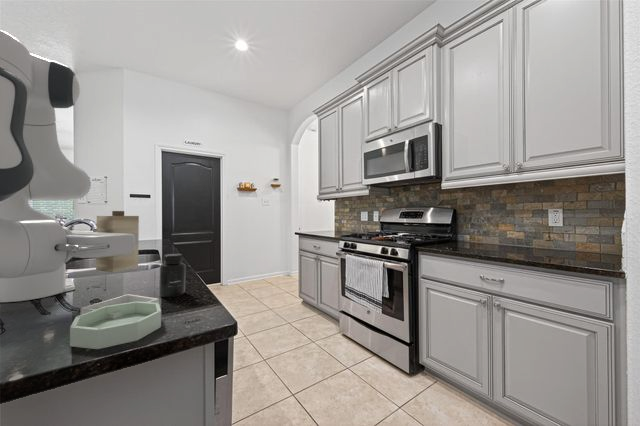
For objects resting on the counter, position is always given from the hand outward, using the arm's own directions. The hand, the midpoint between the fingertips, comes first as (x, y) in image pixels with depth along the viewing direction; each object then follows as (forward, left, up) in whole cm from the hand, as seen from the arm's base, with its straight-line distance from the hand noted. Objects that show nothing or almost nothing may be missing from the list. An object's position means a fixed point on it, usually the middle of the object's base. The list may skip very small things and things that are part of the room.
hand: (124, 239), depth 56 cm
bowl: (+1, -1, -19) cm, 19 cm away
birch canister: (+1, -1, -6) cm, 6 cm away
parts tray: (-12, -1, -19) cm, 23 cm away
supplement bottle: (-20, +11, -19) cm, 30 cm away
